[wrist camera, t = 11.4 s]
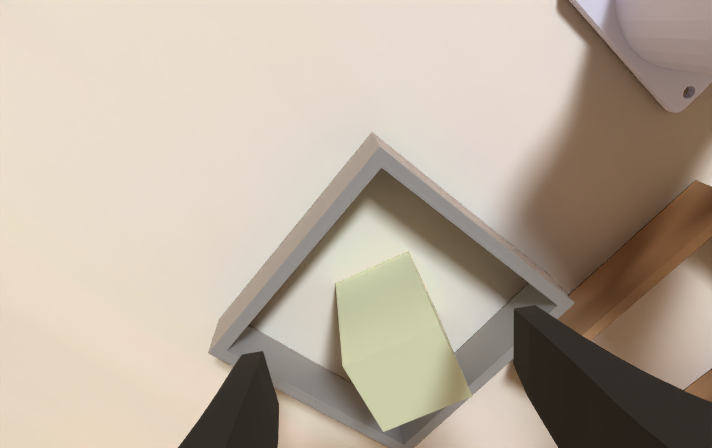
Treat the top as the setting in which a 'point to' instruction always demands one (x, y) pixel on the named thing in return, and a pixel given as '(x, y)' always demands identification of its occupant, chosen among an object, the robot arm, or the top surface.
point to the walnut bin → (645, 268)
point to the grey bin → (325, 387)
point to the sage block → (396, 344)
